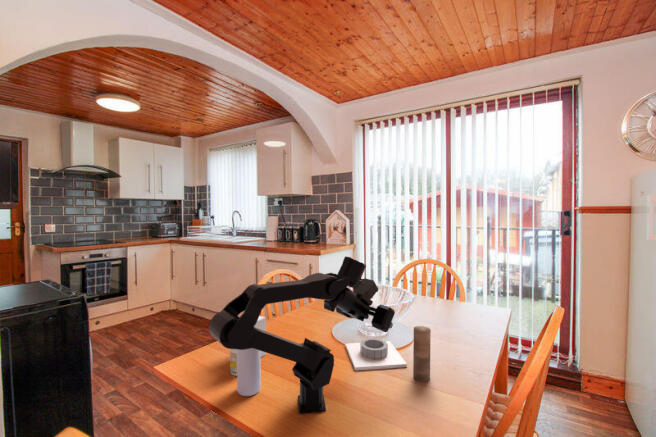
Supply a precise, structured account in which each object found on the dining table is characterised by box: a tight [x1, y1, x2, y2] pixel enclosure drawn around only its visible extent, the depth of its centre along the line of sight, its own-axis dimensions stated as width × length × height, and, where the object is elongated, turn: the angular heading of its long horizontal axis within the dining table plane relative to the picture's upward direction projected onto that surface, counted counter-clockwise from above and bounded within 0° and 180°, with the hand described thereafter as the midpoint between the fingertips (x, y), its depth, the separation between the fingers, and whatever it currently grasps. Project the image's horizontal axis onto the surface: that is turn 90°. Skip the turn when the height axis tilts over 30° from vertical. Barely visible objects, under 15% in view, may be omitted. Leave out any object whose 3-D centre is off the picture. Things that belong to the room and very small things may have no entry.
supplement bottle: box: [229, 349, 237, 377], centre depth 90 cm, size 5×5×10 cm
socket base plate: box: [345, 337, 408, 371], centre depth 100 cm, size 16×16×4 cm
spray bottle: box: [236, 310, 262, 397], centre depth 81 cm, size 6×6×22 cm
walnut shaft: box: [412, 325, 432, 383], centre depth 87 cm, size 5×5×14 cm
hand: (379, 321), depth 91 cm, fingers open, 9 cm apart
